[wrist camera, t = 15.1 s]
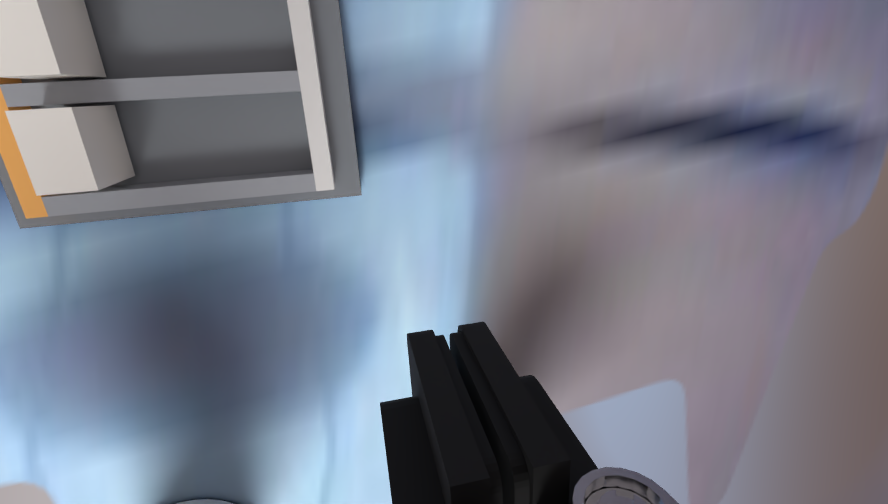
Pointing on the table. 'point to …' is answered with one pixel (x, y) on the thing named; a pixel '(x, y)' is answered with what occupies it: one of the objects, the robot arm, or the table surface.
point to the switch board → (202, 109)
